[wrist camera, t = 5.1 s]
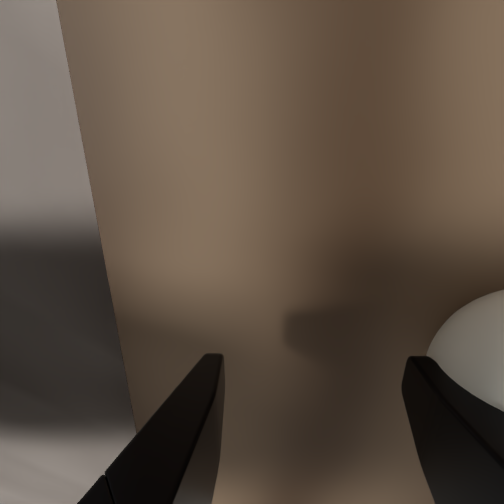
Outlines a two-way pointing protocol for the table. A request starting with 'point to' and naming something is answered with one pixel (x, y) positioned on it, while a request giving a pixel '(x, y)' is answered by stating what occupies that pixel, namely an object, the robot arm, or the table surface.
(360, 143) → the board
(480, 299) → the ball
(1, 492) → the table surface
